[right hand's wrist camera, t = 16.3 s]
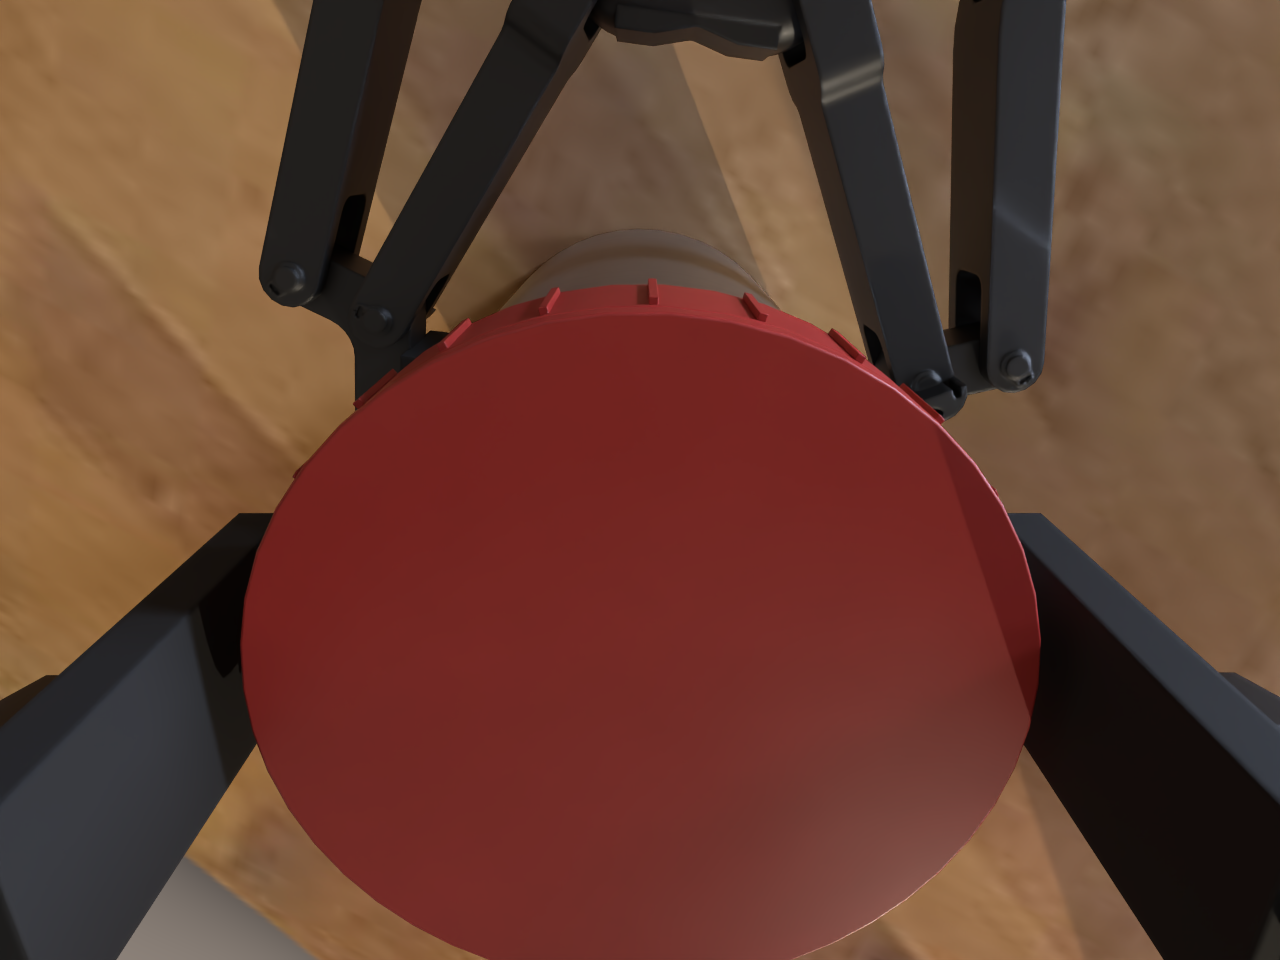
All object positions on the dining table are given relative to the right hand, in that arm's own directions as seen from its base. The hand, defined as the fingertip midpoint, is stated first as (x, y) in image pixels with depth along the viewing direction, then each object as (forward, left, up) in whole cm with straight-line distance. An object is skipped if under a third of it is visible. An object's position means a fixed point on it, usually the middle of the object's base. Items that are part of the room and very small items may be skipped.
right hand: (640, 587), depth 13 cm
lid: (0, 0, +3) cm, 3 cm away
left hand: (+2, +4, -7) cm, 8 cm away
